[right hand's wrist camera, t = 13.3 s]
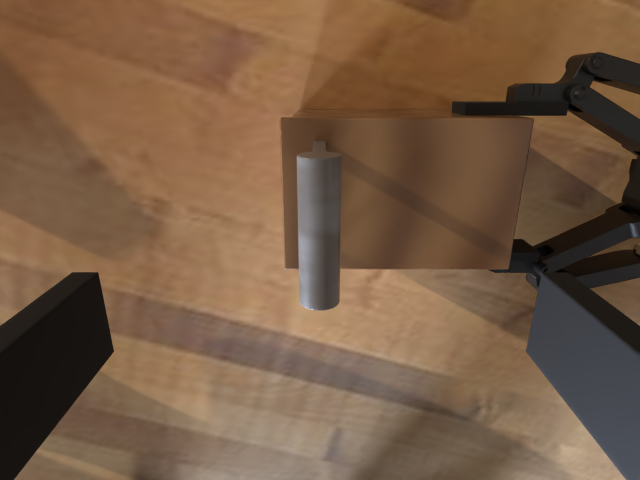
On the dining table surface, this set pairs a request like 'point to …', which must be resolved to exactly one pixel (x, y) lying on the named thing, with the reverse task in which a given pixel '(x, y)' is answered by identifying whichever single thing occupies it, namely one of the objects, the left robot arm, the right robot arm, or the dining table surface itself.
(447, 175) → the lid
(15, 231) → the dining table surface
